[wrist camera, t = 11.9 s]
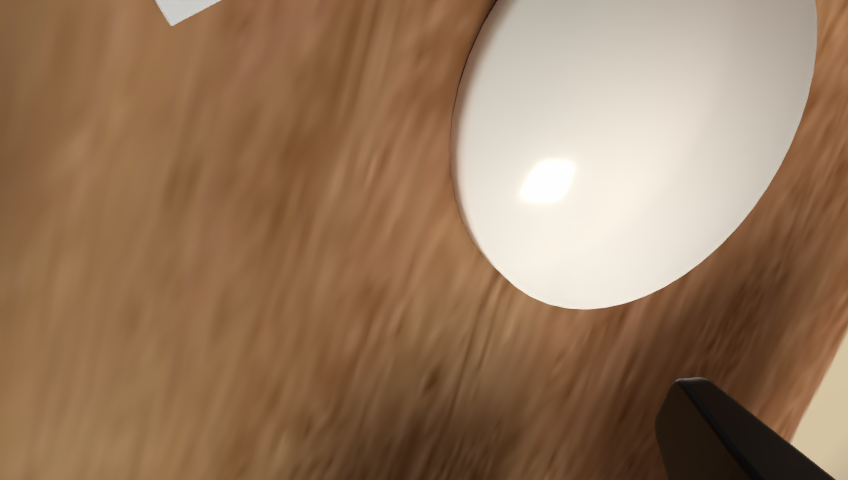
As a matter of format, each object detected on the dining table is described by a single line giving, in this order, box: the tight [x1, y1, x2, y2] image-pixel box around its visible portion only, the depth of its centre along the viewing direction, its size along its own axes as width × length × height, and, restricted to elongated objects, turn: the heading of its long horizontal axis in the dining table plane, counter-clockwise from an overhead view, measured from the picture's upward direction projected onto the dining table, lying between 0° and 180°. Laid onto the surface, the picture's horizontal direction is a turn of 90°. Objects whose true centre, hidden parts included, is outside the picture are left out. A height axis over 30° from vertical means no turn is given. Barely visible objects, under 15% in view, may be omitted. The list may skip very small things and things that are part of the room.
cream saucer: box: [450, 0, 817, 309], centre depth 24 cm, size 13×13×1 cm
